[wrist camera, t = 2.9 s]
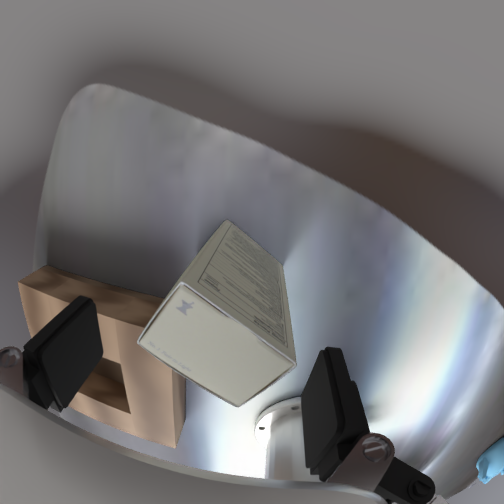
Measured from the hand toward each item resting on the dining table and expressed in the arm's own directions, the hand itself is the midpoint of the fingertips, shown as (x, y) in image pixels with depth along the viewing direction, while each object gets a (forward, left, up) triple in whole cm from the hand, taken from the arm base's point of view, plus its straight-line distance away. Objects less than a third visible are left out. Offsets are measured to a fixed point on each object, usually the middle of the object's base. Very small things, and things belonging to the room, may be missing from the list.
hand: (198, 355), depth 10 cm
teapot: (-77, +44, -13) cm, 90 cm away
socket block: (+13, +15, -13) cm, 23 cm away
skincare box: (0, +1, -13) cm, 13 cm away
